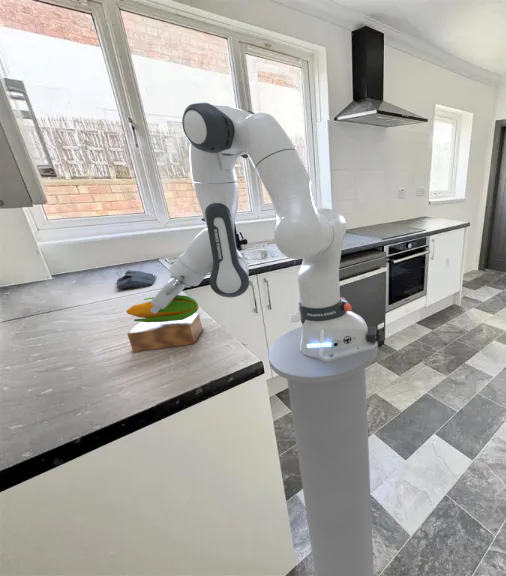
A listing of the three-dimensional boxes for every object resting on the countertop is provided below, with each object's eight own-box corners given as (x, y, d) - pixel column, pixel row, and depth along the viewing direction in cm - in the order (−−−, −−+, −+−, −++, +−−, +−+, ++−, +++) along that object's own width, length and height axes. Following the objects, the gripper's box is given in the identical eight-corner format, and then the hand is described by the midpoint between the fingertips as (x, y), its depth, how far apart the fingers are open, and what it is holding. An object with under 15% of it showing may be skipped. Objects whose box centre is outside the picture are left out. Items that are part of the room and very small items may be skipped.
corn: (189, 297, 90) (113, 302, 87) (194, 321, 92) (120, 327, 89) (199, 290, 97) (129, 295, 94) (204, 313, 99) (135, 318, 96)
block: (202, 329, 103) (198, 312, 101) (194, 343, 94) (189, 325, 92) (147, 336, 99) (142, 319, 97) (133, 352, 90) (127, 333, 88)
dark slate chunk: (112, 292, 139) (109, 282, 138) (118, 280, 157) (116, 271, 155) (153, 285, 147) (151, 276, 146) (155, 275, 165) (153, 266, 163)
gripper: (187, 289, 84) (155, 327, 84) (205, 269, 102) (179, 300, 103) (164, 275, 81) (131, 314, 82) (187, 258, 100) (160, 289, 100)
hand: (158, 306), depth 93 cm, fingers closed on corn, 6 cm apart
